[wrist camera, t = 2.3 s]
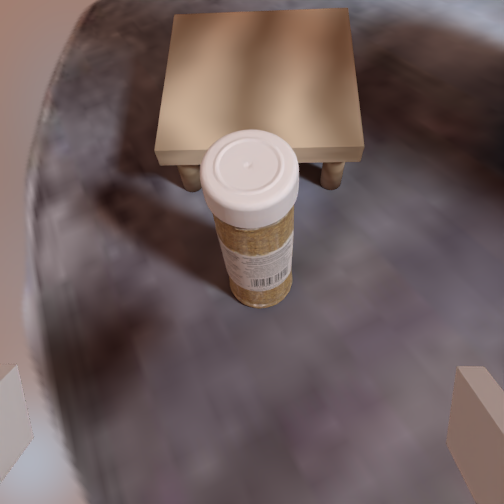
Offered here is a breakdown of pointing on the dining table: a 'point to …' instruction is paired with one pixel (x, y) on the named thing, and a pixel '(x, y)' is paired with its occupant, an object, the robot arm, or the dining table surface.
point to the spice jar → (253, 211)
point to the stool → (261, 87)
